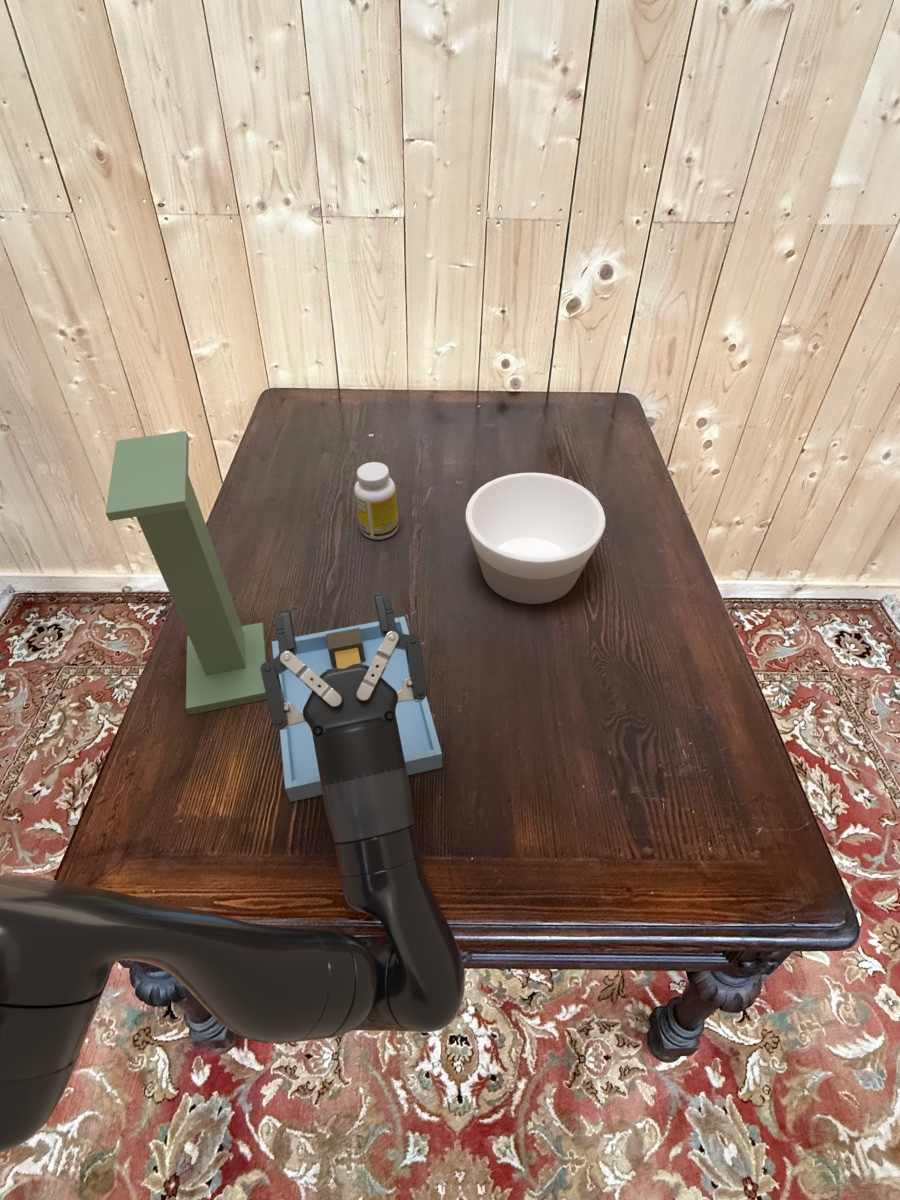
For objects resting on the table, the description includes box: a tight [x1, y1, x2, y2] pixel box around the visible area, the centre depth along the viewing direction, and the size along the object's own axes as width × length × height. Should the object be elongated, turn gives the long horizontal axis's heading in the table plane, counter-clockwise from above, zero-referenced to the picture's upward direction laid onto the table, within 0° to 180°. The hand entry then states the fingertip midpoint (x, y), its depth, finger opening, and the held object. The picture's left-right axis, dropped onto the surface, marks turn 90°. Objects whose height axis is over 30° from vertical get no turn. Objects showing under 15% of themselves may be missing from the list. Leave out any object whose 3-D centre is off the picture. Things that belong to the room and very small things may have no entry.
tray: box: [271, 616, 443, 803], centre depth 85 cm, size 18×22×3 cm
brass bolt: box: [326, 628, 365, 669], centre depth 83 cm, size 4×20×3 cm, turn 14°
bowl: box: [465, 472, 607, 605], centre depth 99 cm, size 19×19×11 cm
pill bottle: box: [353, 461, 400, 541], centre depth 106 cm, size 6×6×11 cm
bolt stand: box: [105, 430, 268, 716], centre depth 79 cm, size 10×12×32 cm
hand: (332, 603), depth 64 cm, fingers open, 8 cm apart
